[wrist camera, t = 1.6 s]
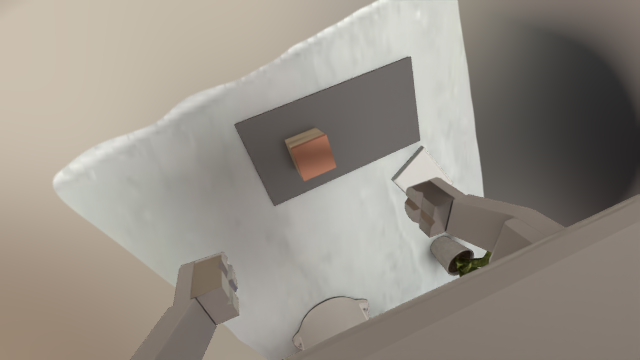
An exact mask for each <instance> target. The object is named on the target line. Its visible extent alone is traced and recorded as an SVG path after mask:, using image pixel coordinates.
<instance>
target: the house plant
mask: <svg viewBox="0 0 640 360" xmlns="http://www.w3.org/2000/svg"><path fill="white" fill-rule="evenodd" d="M431 252H432V253H433V254H434V256H435V257H436V258H437V260H438V261H439V262H440V263H441V265H442V266H443V267H444V269H445V270H446V271H447V272H448V274H450V275H452V276H455V275H459V276H460V277H462V276H464V275H466V274H468V273H470V272H472V271H475V270H477V269H479V268H477V267H483V266H485V265H488V264H489V259H490V257H491V254H492V253H491V252H489V251H487V252H486V254H485V256H484V257H483V258H474V253H473V251H472V250H470V249H468V248H467V247H465V246H463V245H461V244H459V243H457V242H455V241H454V240H452V239H450V238H448V237H446V236H441V237H439V238H437V239H436V240H435V241H434V242H433V243H432V245H431ZM479 260H480V261H479Z"/></svg>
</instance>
